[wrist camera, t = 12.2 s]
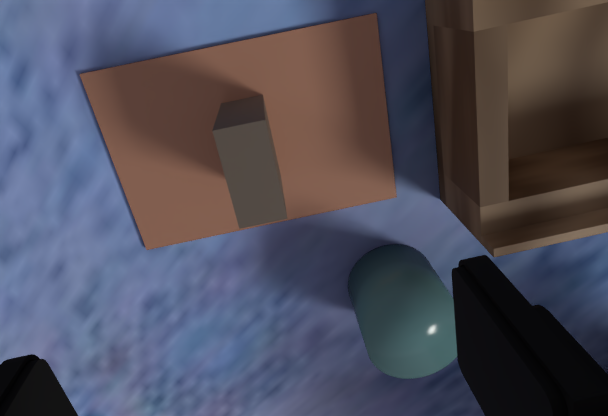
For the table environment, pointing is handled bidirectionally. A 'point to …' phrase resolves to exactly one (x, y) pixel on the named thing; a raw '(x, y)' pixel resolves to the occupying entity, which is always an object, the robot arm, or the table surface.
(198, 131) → the brown piece
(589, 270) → the table surface
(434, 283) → the teal rounded piece
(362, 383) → the table surface
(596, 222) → the box
